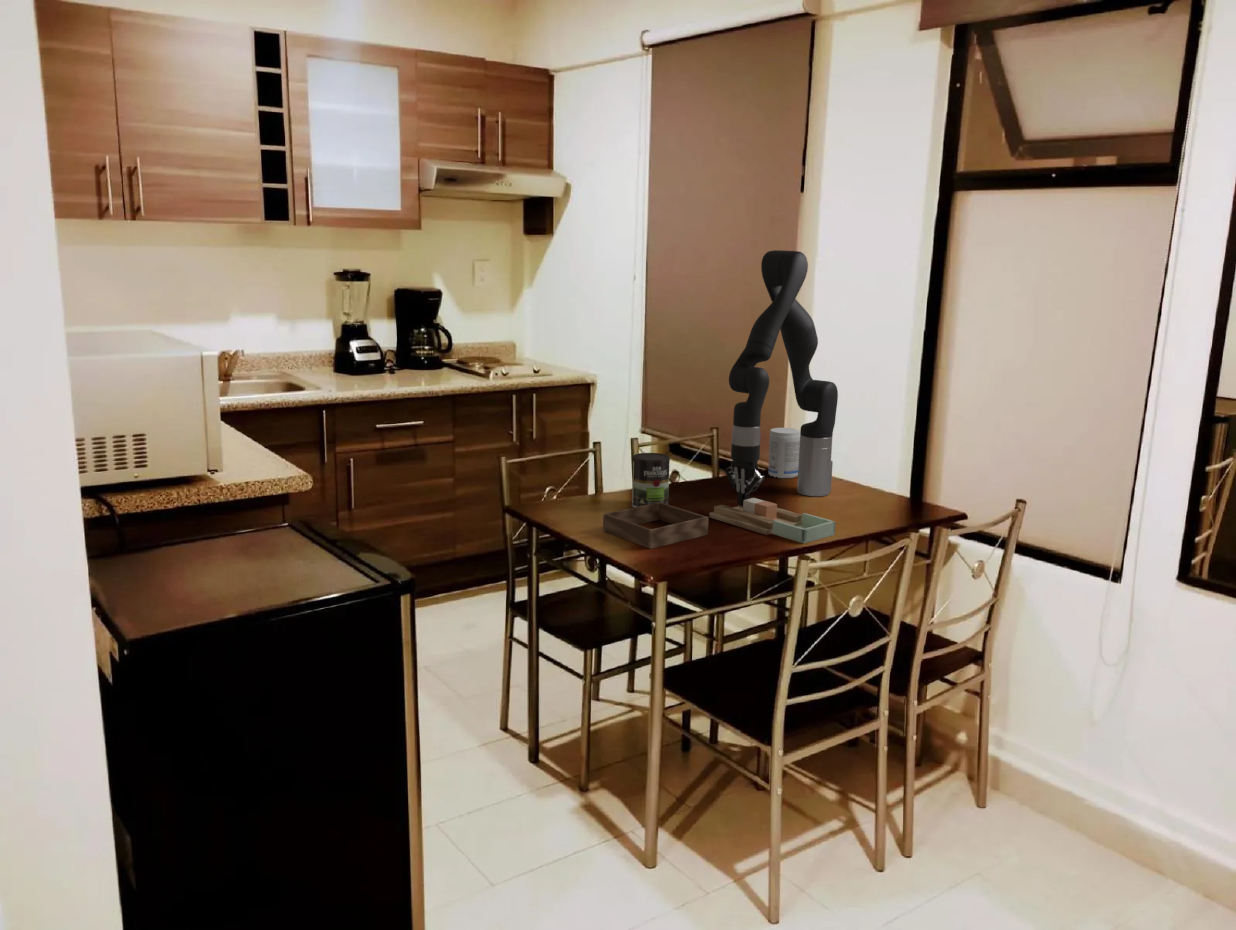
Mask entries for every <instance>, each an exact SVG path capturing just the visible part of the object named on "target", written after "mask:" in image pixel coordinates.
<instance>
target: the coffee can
mask: <svg viewBox="0 0 1236 930" xmlns="http://www.w3.org/2000/svg"><path fill="white" fill-rule="evenodd" d="M631 458H632V487H631V488H632V489H631V490H632V491H631V492H632V493H631V495H632V496H631V497H632V498H631V508H634V507H639V506H644V505H648V504H653V503H658V502H661V503H664V504H668V505H669V491H670V489H669V488H670V487H669V486H670V461H671V456H670V455H668V454H664V453H660V452H659V453H658V452H640V453H635V454H633V455H632V457H631Z"/></svg>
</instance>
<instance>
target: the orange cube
mask: <svg viewBox="0 0 1236 930" xmlns="http://www.w3.org/2000/svg"><path fill="white" fill-rule="evenodd" d="M777 508H778V503H775V502H771V501H767V500H764V501H763V502H758V503H755V514H756V515H759V516H763V517H766V518H770V519H773V520H774V519H776V515H777Z"/></svg>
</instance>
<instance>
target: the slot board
mask: <svg viewBox="0 0 1236 930" xmlns="http://www.w3.org/2000/svg"><path fill="white" fill-rule="evenodd" d="M708 517H709V518H711V519H713V520H717V521H721V522H724V523H727V524H731V525H733V526H737V527H740V528H743V529H747V530H750V531H753V532H756V533H759V534H763V535H770V534H773V521H775V520H776V521H780V522H783V523H786V524H790V525H793V526H799V525H802V514H801V513H797V512H794V511H790V510H787V509H783V508H779V507H777V515H776V519H774V520H773V519H770V518H766V517H763V516H759V515H756V514H752V513H749V512H746V511H743V507H742V506H739V505H737V506H733V507H731V506H728V505H724V504H719V505H714V506H713V511H712V512H711V511H710V512H709V514H708Z"/></svg>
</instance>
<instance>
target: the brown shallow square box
mask: <svg viewBox="0 0 1236 930" xmlns="http://www.w3.org/2000/svg"><path fill="white" fill-rule="evenodd" d="M602 516H603V517H602V519H603V520H602V532H604V533H607V534H610V535H611V536H612V535H613V536H615V537H618V538H620V539H623V540H626V541H629V542H631V543H633V544H637V545H640V546H642V547H645V548H647V549H656V548H660V547H664V546H667V545H671V544H677V543H680V542H684V541H687V540H692V539H696V538H700V537H703V536H707V535H709V521H710V520H709V518H710V517H709V516H706V515H704V514H699V513H697V512H694V511H691V510H686V509H684V508H681V507H677V506H673V505H670V504H669V503H668V504H664V503H661V502H658V503H653V504H648V505H644V506H639V507H630V508H625V509H621V510H620V509H619V510H615V511H612V512H607V513H605V512H604V513H603V514H602ZM655 521H662V522H664V523H665V522H666V523H668V524H667V525H664V526H660V527H655V528H649V527H646V526H643V525H641V524H645V523H646V524H647V523H651V522H655Z"/></svg>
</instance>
